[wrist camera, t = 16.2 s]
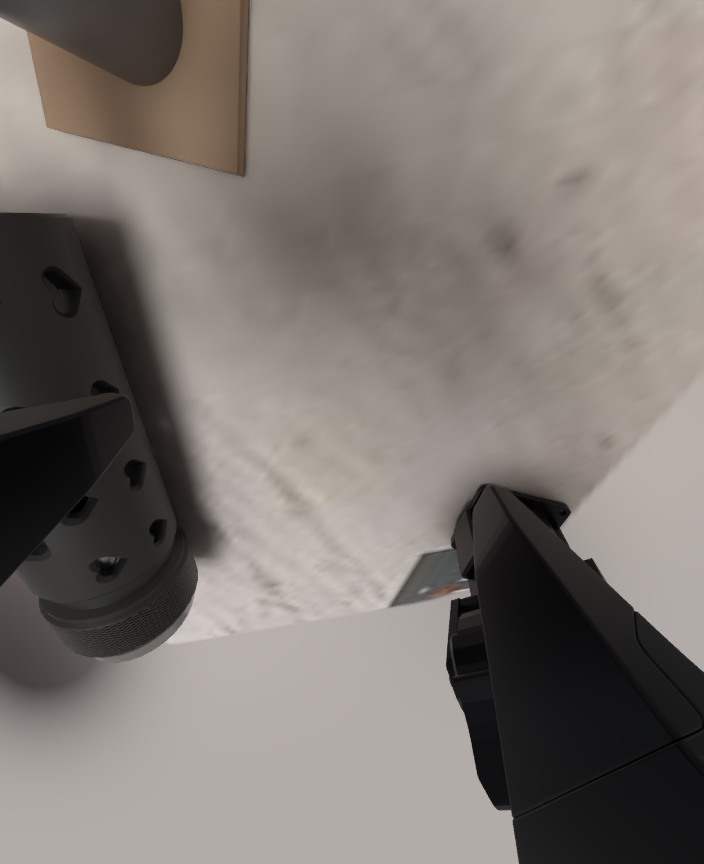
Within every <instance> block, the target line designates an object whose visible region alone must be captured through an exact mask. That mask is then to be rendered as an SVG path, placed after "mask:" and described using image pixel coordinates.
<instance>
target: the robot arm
mask: <svg viewBox="0 0 704 864" xmlns="http://www.w3.org/2000/svg"><path fill="white" fill-rule="evenodd" d="M134 429H135V422H134V416H133V410H132V404H131V401H130V399H129V398H128V397H127V396H124V395H119V394H115V393H104V394H99V395H93V396H88V397H82V398H77V399H71V400H66V401H60V402H55V403H49V404H44V405H38V406H33V407H27V408H22V409H17V410H11V411H6V412H0V587H1V586H2V585H3V584H4V583H5V581H6V580H7V579H8V578H9V577H10V576H11V575H12V574H13V573H14V572H15V571H16V570H17V568H18V567H19V566H20V565H21V564H22V563H23V562H24V561H25V560H26V559H27V558H28V557H29V555H30V554H31V553H32V552H33V551H34V550H35V549H36V548H37V547H38V546H39V545H40V544H41V542H42V541H43V540H44V539H45V538H46V537H47V536H48V535H49V534H50V533H51V532H52V530H53V529H54V528H55V527H56V526H57V525H58V524H59V523H60V522H61V521H62V520H63V519H64V517H65V516H66V515H67V514H68V513H69V512H70V511H71V510H72V509H73V508H74V507H75V506H76V504H77V503H78V502H79V501H80V500H81V499H82V498H83V497H84V496H85V495H86V494H87V492H88V491H89V490H90V489H91V488H92V487H93V486H94V485H95V483H96V482H97V481H98V480H99V479H100V477H101V476H102V475H103V473H104V472H105V471H106V469H107V468H108V467H109V465H110V464H111V463H112V461H113V460H114V459H115V457H116V456H117V455H118V453H119V452H120V451H121V449H122V448H123V447H124V445H125V444H126V442H127V441H128V440H129V438H130V437H131V436H132V434H133V432H134ZM562 510H563V511H562ZM560 511H561V512H560ZM570 513H571V511H570V509H569V507H568V506H567V505H565V504H562V503H558V502H554V501H550V500H546V499H542V498H537V497H533V496H529V495H525V494H521V493H517V492H513V491H509V490H508V489H506V488H504V487H500V486H496V485H492V484H490V485H488V486H487V485H485V486H482V487H480V488H479V490H478V492H477V493H476V495H475V497H474V499H473V501H472V503H471V504H470V506H469V508H467V509H465V511H464V513H463V514H462V516H461V518H460V520H459V522H458V524H457V526H456V527H455V529H454V536H453V537H452V539H451V546H452V548H454V549H457V555H458V561H459V567H460V573H461V575H462V577H463V578H464V579H468V582H469V587H470V593H471V596H470V597H467V598H464V599H460V598H458V599H455V600H452V601H451V610H450V621H449V633H448V645H447V661H446V667H447V671H448V673H449V679H450V683H451V686H452V687H453V690H454V693H455V695H456V698H457V700H458V702H459V704H460V706H461V708H462V710H463V712H464V714H465V717H466V721H467V725H468V729H469V733H470V738H471V743H472V749H473V754H474V759H475V765H476V770H477V775H478V778H479V780H480V782H481V784H482V786H483V788H484V789H485V791H486V793H487V795H488V797H489V798H490V800H491V802H492V804H493V805H494V807H495V808H496V809H497V810H511V812H512V817H513V818H514V819H513V827H514V834H515V840H516V847H517V853H518V859H519V864H704V672H703V671H702V670H700V669H699V668H698V667H697V666H696V665H695V664H694V663H693V662H691V661H690V660H689V659H688V658H687V657H686V656H685V655H684V654H682V653H681V652H680V651H679V650H678V649H677V648H676V647H675V646H674V645H673V644H672V643H670V642H669V641H668V640H667V639H666V638H665V637H664V636H663V635H662V634H661V633H660V632H659V631H657V630H656V629H655V628H654V627H653V626H652V625H651V624H650V623H649V622H648V621H647V620H646V619H645V618H643V616H641V615H640V614H639V613H638V612H636V611H634V609H633V607H632V606H631V605H630V604H628V602H627V601H625V600H624V599H623V598H622V597H621V596H620V595H619V594H618V593H617V592H616V591H615V590H614V589H613V588H612V587H611V586H610V585H609V584H608V583H607V582H606V580H605V579H604V577H603V575H602V574H601V572H600V570H599V569H598V567H597V566H596V564H595V562H594V561H593V559H592V558H591V559H587V560H584V561H583V560H582V559H581V558H580V557H579V556H578V555H577V554H576V553H575V552H573V551H572V550H571V549H570V547H569V545H568V543H567V541H566V539H565V537H564V535H563V534H562V532H561V530H560V527H561V525H562V524H563V523H564V521H565V520H566V519H567V518H568V516H569V515H570Z"/></svg>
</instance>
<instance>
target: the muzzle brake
mask: <svg viewBox="0 0 704 864" xmlns="http://www.w3.org/2000/svg"><path fill="white" fill-rule="evenodd" d="M104 393H115V394H119V395H124V396H127V397H128V398H129V399H130V401H131V404H132V410H133V416H134V422H135V429H134V432H133V434H132V436H131V437H130V438H129V440H128V441H127V442H126V444H125V445H124V447H123V448H122V449H121V451H120V452H119V453H118V455H117V456H116V457H115V459H114V460H113V461H112V463H111V464H110V465H109V467H108V468H107V469H106V471H105V472H104V473H103V475H102V476H101V477H100V479H99V480H98V481H97V482H96V483H95V485H94V486H93V487H92V488H91V489H90V490H89V491H88V492H87V494H86V495H85V496H84V497H83V498H82V499H81V500H80V501H79V502H78V503H77V504H76V506H75V507H74V508H73V509H72V510H71V511H70V512H69V513H68V514H67V515H66V516H65V517H64V519H63V520H62V521H61V522H60V523H59V524H58V525H57V526H56V527H55V528H54V529H53V530H52V532H51V533H50V534H49V535H48V536H47V537H46V538H45V539H44V540H43V541H42V542H41V544H40V545H39V546H38V547H37V548H36V549H35V550H34V551H33V552H32V553H31V554H30V555H29V557H28V558H27V559H26V560H25V561H24V562H23V563H22V564H21V565H20V566H19V567H18V568H17V570H16V572H17V573H18V575H19V576H20V577H21V579H22V580H23V581H24V582H25V584H26V585H27V586H28V588H29V589H30V590H31V591H32V593H34V594H35V595H37V596H39V606H40V611H41V614H42V615H43V617H44V618H45V620H46V621H47V622H48V623H49V625H50V626H51V627H52V628H53V630H54V631H55V632H56V633H57V635H58V636H59V637H60V639H61V640H62V641H63V642H64V643H65V645H66V646H67V647H68V648H69V649H71V650H72V651H74V652H75V653H77V654H80V655H84V656H87V657H94V658H96V659H97V660H100V661H103V662H110V663H118V662H124V661H129V660H132V659H135V658H138V657H141V656H143V655H145V654H147V653H149V652H151V651H152V650H154V649H155V648H157V647H158V646H160V645H161V644H163V643H164V642H165V641H166V640H167V639H169V638H170V637H171V636H172V635H173V634H174V633H175V632H176V631H177V630H178V628H179V627H180V626H181V625H182V623H183V622H184V620H185V619H186V617H187V615H188V613H189V611H190V609H191V606H192V603H193V598H194V593H195V590H196V585H197V581H198V570H197V566H196V563H195V560H194V557H193V554H192V551H191V548H190V545H189V542H188V539H187V536H186V535H185V533H184V532H183V531H182V529H181V528H179V527H178V526H177V521H176V517H175V514H174V511H173V508H172V506H171V503H170V500H169V498H168V495H167V492H166V488H165V485H164V482H163V479H162V476H161V474H160V471H159V468H158V465H157V462H156V459H155V456H154V454H153V452H152V449H151V446H150V443H149V441H148V438H147V434H146V431H145V428H144V425H143V422H142V419H141V416H140V413H139V411H138V408H137V405H136V402H135V399H134V396H133V393H132V391H131V389H130V386H129V383H128V380H127V377H126V374H125V372H124V369H123V366H122V363H121V360H120V356H119V353H118V350H117V348H116V345H115V342H114V339H113V336H112V333H111V330H110V328H109V325H108V322H107V319H106V316H105V313H104V310H103V308H102V305H101V302H100V300H99V298H98V295H97V292H96V289H95V286H94V283H93V280H92V278H91V275H90V272H89V269H88V266H87V263H86V260H85V256H84V253H83V250H82V247H81V245H80V242H79V239H78V236H77V233H76V230H75V227H74V224H73V222H72V219H71V217H70V216H68V215H67V214H43V213H0V412H6V411H11V410H17V409H22V408H27V407H33V406H38V405H44V404H49V403H55V402H60V401H66V400H71V399H77V398H82V397H88V396H93V395H99V394H104Z"/></svg>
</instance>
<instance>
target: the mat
mask: <svg viewBox="0 0 704 864" xmlns="http://www.w3.org/2000/svg"><path fill="white" fill-rule="evenodd" d="M180 3H181V9H182V18H183V36H182V44H181V49H180V53H179V56H178V60H177V62H176V64H175V66H174V68H173V69H172V71H171V72H170V74H169V75H168V76H167V77H166V78H165V79H163V80H162V81H161V82H159V83H157V84H154V85H150V86H139V85H134V84H131V83H129V82H127V81H125V80H123V79H121V78H119V77H117V76H115V75H113V74H111V73H109V72H107V71H105V70H103V69H101V68H99V67H97V66H95V65H93V64H91V63H89V62H87V61H85V60H83V59H81V58H79V57H77V56H76V55H74V54H72V53H70V52H68V51H66V50H64V49H62V48H60V47H58V46H56V45H54V44H52V43H50V42H48V41H46V40H44V39H42V38H40V37H38V36H36V35H34V34H32V33H30V32H28V31H27V34H28V39H29V44H30V49H31V53H32V58H33V63H34V68H35V72H36V77H37V82H38V87H39V91H40V96H41V101H42V106H43V110H44V115H45V120H46V125H47V128H51V129H55V130H59V131H62V132H66V133H71V134H75V135H79V136H83V137H87V138H91V139H95V140H99V141H103V142H107V143H111V144H115V145H119V146H123V147H127V148H131V149H135V150H139V151H143V152H147V153H151V154H156V155H160V156H164V157H168V158H172V159H176V160H180V161H184V162H188V163H192V164H196V165H200V166H204V167H208V168H212V169H216V170H220V171H224V172H228V173H232V174H237V175H241V176H244V152H245V116H246V81H247V45H248V10H249V0H180Z"/></svg>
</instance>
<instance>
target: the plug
mask: <svg viewBox="0 0 704 864" xmlns="http://www.w3.org/2000/svg"><path fill="white" fill-rule="evenodd" d="M0 17H1V18H3V19H5V20H7V21H9V22H11V23H12V24H14V25H16V26H18V27H20V28H22V29H24V30H26V31H28V32H30V33H32V34H34V35H36V36H38V37H40V38H42V39H44V40H46V41H48V42H50V43H52V44H54V45H56V46H58V47H60V48H62V49H64V50H66V51H68V52H70V53H72V54H74V55H76V56H77V57H79V58H81V59H83V60H85V61H87V62H89V63H91V64H93V65H95V66H97V67H99V68H101V69H103V70H105V71H107V72H109V73H111V74H113V75H115V76H117V77H119V78H121V79H123V80H125V81H127V82H129V83H131V84H134V85H139V86H150V85H154V84H157V83H159V82H161V81H162V80H163V79H165V78H166V77H167V76H168V75H169V74H170V72H171V71H172V69H173V68H174V66H175V64H176V62H177V60H178V56H179V53H180V49H181V44H182V36H183V18H182V9H181V3H180V0H0Z"/></svg>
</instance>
